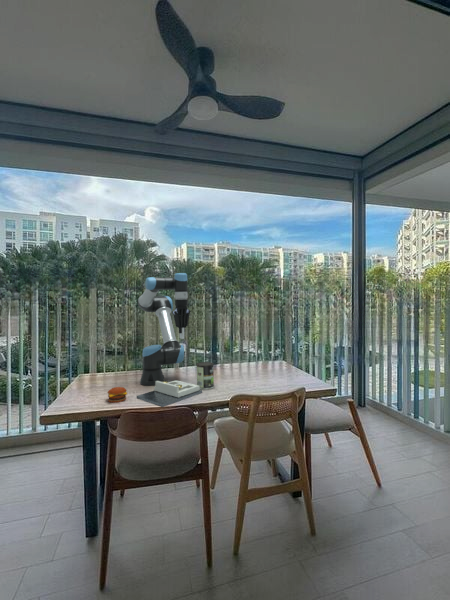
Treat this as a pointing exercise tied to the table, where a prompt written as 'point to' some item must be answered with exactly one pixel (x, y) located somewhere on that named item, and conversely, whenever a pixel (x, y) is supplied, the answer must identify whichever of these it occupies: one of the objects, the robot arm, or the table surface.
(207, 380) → the coffee can
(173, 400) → the base
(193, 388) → the panel
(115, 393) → the hamburger
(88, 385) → the table surface
